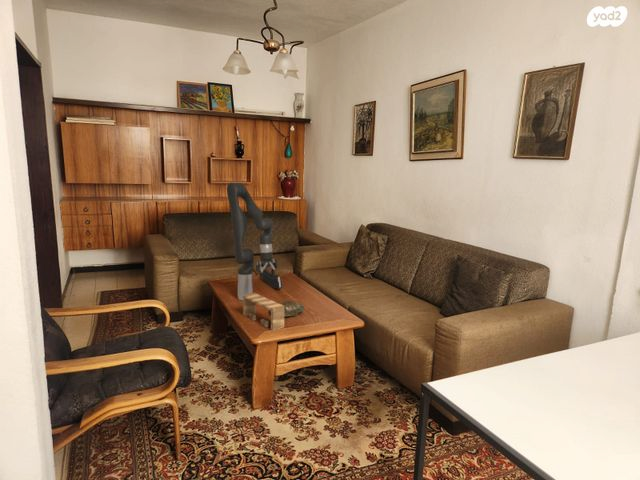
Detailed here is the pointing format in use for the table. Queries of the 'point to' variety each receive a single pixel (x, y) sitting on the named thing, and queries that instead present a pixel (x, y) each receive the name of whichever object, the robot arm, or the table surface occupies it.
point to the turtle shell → (292, 308)
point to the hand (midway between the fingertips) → (267, 276)
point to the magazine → (272, 279)
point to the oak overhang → (275, 308)
